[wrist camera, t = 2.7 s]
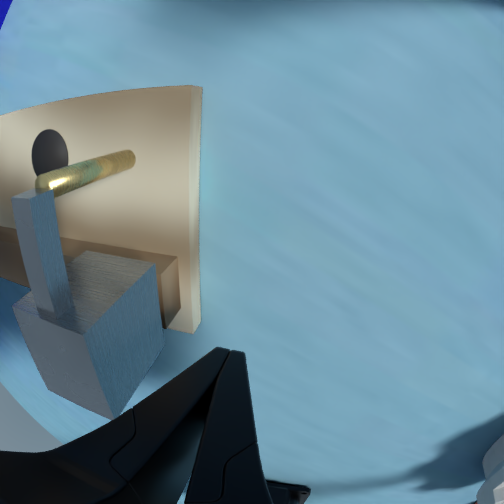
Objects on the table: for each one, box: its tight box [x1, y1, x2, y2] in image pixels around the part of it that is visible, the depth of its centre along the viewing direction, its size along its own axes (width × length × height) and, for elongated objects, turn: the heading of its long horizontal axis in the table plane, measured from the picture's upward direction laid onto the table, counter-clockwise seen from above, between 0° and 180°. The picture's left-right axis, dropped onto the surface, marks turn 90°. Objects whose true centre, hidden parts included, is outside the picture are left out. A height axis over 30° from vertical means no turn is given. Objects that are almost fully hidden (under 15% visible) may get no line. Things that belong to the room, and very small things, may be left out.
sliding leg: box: [11, 149, 165, 420], centre depth 9 cm, size 7×3×5 cm, turn 177°
